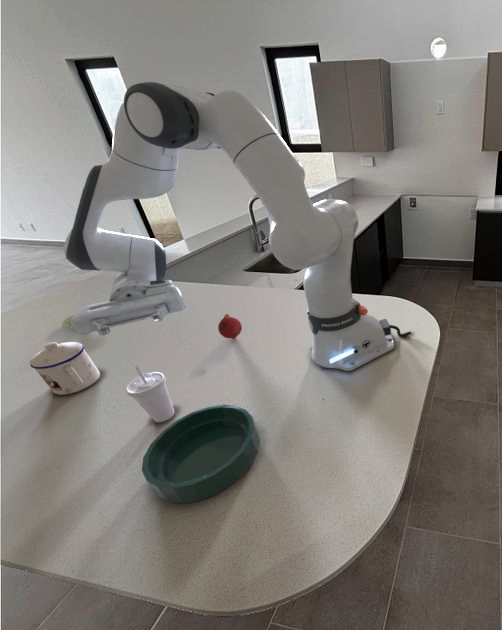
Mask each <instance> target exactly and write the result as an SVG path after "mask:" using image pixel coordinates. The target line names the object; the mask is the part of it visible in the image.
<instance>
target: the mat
mask: <svg viewBox="0 0 502 630" xmlns="http://www.w3.org/2000/svg"><path fill="white" fill-rule="evenodd" d="M74 315H75V314H73V315H71V316H68V317H67V318H66V319H64V320H63V321H62V323H61V326H62V328H65V329H66V328H67V329H74V327H73V325H72V323H71V319H72V317H73V316H74Z"/></svg>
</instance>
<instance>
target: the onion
mask: <svg viewBox="0 0 502 630" xmlns="http://www.w3.org/2000/svg"><path fill="white" fill-rule="evenodd" d="M217 330H218V332H219V334H220V335H221V336H222V337H223V338H226V339H231V340H234V339H236V338H237V337H238V336H239V335H240V334H241V333H242V330H243V326H242V323H241V321H240V320H239V319H237V318H236V317H234V316H230V314H228V313H225V314H224V316H223V318H222V319H220V321H219V323H218V327H217Z"/></svg>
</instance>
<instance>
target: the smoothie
mask: <svg viewBox="0 0 502 630" xmlns="http://www.w3.org/2000/svg"><path fill="white" fill-rule="evenodd" d="M134 369H135V370H136V372H137V374H138V375H139V376H137V377H135V378H134V379H132V380H131V381H129V383H128V384H127V385H126V387H125V391H126V393H127V395H128V396H129V397H130V398H133V400H135V401H136V403H138V404H139V406H140V407H141V408H142V409H143V410H144V411H145V412H146V413H147V414H148V416H149V417H150V418H152V419H153V421H154V422H155V423H164V422H166V421H168V420H170V419H171V418H173V416H174V415H175V409H174V406H173V402H172V399H171V397H170V393H169V390H168V388H167V384H166V381H167V379H166V377H165V375H164V374H163V373H162V372H157V371H155V372H154V371H153V372H148V373H143V371H142V369H141V368H140V366H139V365H136V366H134Z"/></svg>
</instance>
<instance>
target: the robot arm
mask: <svg viewBox="0 0 502 630" xmlns="http://www.w3.org/2000/svg"><path fill="white" fill-rule="evenodd" d="M117 112H118V113H117V115H116V119H115V123H114V128H113V133H112V144H111V145H112V146H111V153H110V156H109V158H108V159H107V161H105V163H103V164H99V165H97V164H96V165H94V166H93V167H92V168H91V169H90V170H89V173H88V174H87V177H86V180H85V183H84V186H83V188H82V192H81V195H80V198H79V201H78V202H79V203H78V205H77V206H78V207H77V209H76V214H75V217H74V222H73V225H72V228H71V230H70V231H69V232H68V235H67V236H66V239H65V241H64V245H63V251H64V255H65V259H66V260H67V261H68V262H69V263H71V264H72V265H73V266H74V267H76V268H77V269H80V270H82V271H99V272H100V271H105V272H115V273H117V274H116V275H115V277H114V279H113V283H112V288H111V291H110V294H109V298H108V301H103V302H97V303H93V304H89V305H86V306H83V307H81V308H79V309H78V310H77V311H76V312H75V314H73V315H74V316H73V315H72V316H73V317H72V319H71V323H72V325H73V327H74V328H73V329H74V330H75V331H76V332H77V333H78V334H80V335H86V334H90V333H94V332H97V333H98V335H99V336H105V335H109V334H111V328H115V327H119V326H123V325H127V324H132V323H135V322H136V323H137V322H140V321H144V320H149V319H152V320H153V322H154V323H158V322H161V321H164V318H165V317H166V316H167V315H169V314H173V313H177V312H182V311H184V310H185V309H186V308H187V305H186V303H185V300H184V298H183V295H182V292H181V291H180V289H179V288H178V287H177V286H176V285H174V283H173V281H172V280H170V279H164V278H165V276H166V272H167V253H166V249H165V247H164V246H163V244H162V243H160V242H159V240H157V239H156V238H150V237H145V236H139V235H133V234H132V235H131V234H126V233H120V232H115V231H108V230H104V229H102V228H100V227H99V226H100V222H101V220H102V216H103V213H104V209H105V207H106V206H107V205H108V204H110V203H112V202H116V201H117V202H118V201H125V200H146V199H153V198H158V197H160V196H163V195H165V194H167V193H168V192H169V191H171V190H172V189H173V188H174V185H175V181H176V179H177V174H178V169H179V158H180V157H179V156H180V151H181V150H183V149H184V150H194V151H205V150H213V149H221V150H222V151H223V152H224V153H225V155H226V156H227V157H228V159H229V160H230V162H232V164H233V165H234V167H235V168H236V169H237V170H238V172H239V173H240V174H241V175H242V176H243V178H244V179H245V181H246V183H248V185H249V186H250V188H251V189H252V190H253V192H254V193H255V194H256V195H257V197H258V200H259V201H260V202H261V204H262V206H263V208H264V210H265V213H266V216H267V219H268V223H269V236H268V245H269V248H270V251H271V253H272V255H273V257H274V258H275V259H276V260H277V261H278V263H280V264H281V265H283V266H284V267H286V268H288V269H290V270H294V271H295V270H296V271H301V270H305V269H306V271H305V274H304V276H303V283H302V285H303V290H304V295H305V299H306V305H307V310H306V312H307V313H306V314H307V321H308V325H309V329H310V331H311V336H312V349H311V359H312V361H313V362H314V363H315V364H316V365H318V366H319V367H323V368H327V369H338V370H341V371H345V372H351V371H353V370H355V369H358V368H359V367H362V366H363V365H365V364H367V363H370V362H372V361H374V360H375V359H376V358H378V357H380V356H382V355H384V354H386V353H389V352H390V351H392V350H393V349H394V348H395V340H394V338H393V336H392V329H393V330H396V333H397V336H398V337H400V338H404V337H407V336H409V335H411V334H412V332H411V331H407V332H405V333H401V330H400V328H399V326H396V325H392V324H390V323H389V321H388V319H387V318H383V319H378V318H376V317H375V315H372V314H371V313H368V312H369V310H368V309H367V308H366V306H364V305H361V303H360V302H359V301H358V300H356V299H355V298H354V297H353V290H352V280H351V279H352V278H351V275H352V273H351V271H352V260H353V249H354V242H355V236H356V233H357V230H358V226H359V218H358V217H359V216H358V214H357V211H356V210H355V208H354V207H353V206H352V205H351V204H350V203H348V202H347V201H345V200H342V199H324V200H320V201H319V202H316V203H313V202H312V200H311V198H310V196H309V193H308V191H307V188H306V184H305V179H306V172H305V168H304V166H303V165H302V164H301V163H300V161H299V160H298V158H297V157H296V156H295V154H294V152H293V151H292V150H291V148H290V147H289V146H288V145H287V143H286V141H285V140H284V139H283V137H282V136H281V135H280V133H279V132H278V130H277V129H276V128H275V127H274V125H273V124H272V122H271V121H270V120H269V119H268V118H267V116H266V115H265V114H264V113H263V112H262V111H261V110H260V109H259V108H258V107H257V106H256V104H254V103H253V101H251V100H250V99H249V98H248V97H247V96H246V95H245V94H243V93H242V92H239V91H236V90H223V91H220V92H217V93H216V94H215V93H212V92H207V91H206V92H204V91H201V90H199V89H194V88H190V87H188V86H184V85H180V84H179V85H178V84H165V83H160V82H155V81H147V82H145V81H144V82H139V83H135V84H133V85H131V86H129V88H127V90H126V91H125V93H124V97H123V102H122V104H121V105H120V107H119V109H118V111H117Z"/></svg>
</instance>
